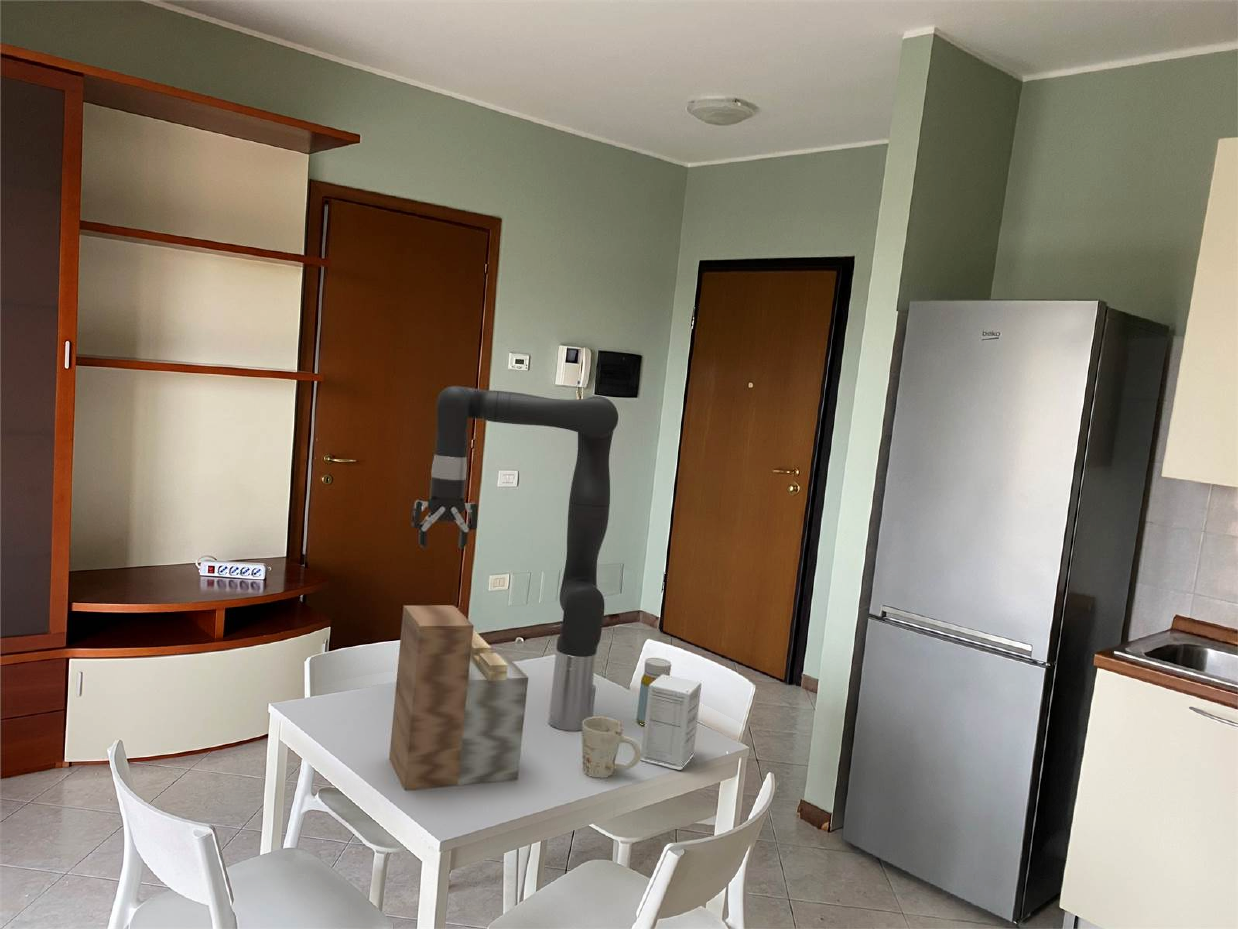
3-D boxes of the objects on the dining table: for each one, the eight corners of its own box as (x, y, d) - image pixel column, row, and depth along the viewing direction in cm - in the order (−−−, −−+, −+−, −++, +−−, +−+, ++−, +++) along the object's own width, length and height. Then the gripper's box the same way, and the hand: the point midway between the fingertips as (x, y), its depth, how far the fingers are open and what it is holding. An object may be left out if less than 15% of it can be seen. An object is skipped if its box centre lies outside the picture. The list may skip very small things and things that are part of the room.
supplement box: (694, 757, 197) (703, 682, 195) (681, 772, 188) (691, 694, 187) (653, 746, 200) (662, 672, 199) (638, 761, 192) (648, 684, 190)
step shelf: (495, 750, 189) (510, 605, 186) (517, 779, 176) (534, 624, 173) (389, 758, 179) (403, 605, 176) (404, 790, 167) (420, 626, 164)
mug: (581, 760, 189) (586, 714, 188) (640, 770, 187) (646, 723, 186) (573, 776, 180) (579, 728, 179) (635, 787, 179) (641, 738, 178)
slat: (470, 641, 193) (471, 628, 193) (506, 680, 172) (507, 664, 171) (454, 642, 191) (455, 628, 191) (488, 681, 170) (490, 665, 170)
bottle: (663, 731, 210) (670, 668, 208) (633, 725, 211) (641, 663, 210) (667, 721, 217) (675, 660, 215) (639, 715, 218) (646, 655, 217)
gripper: (420, 476, 194) (414, 550, 196) (484, 479, 200) (477, 551, 202) (413, 472, 201) (406, 543, 203) (475, 475, 207) (468, 544, 209)
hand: (442, 547), depth 202 cm, fingers open, 8 cm apart
